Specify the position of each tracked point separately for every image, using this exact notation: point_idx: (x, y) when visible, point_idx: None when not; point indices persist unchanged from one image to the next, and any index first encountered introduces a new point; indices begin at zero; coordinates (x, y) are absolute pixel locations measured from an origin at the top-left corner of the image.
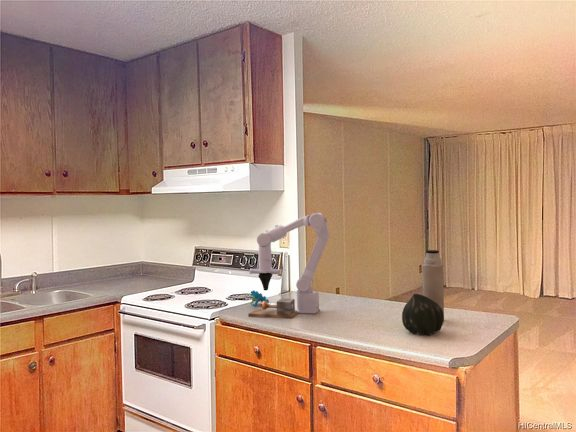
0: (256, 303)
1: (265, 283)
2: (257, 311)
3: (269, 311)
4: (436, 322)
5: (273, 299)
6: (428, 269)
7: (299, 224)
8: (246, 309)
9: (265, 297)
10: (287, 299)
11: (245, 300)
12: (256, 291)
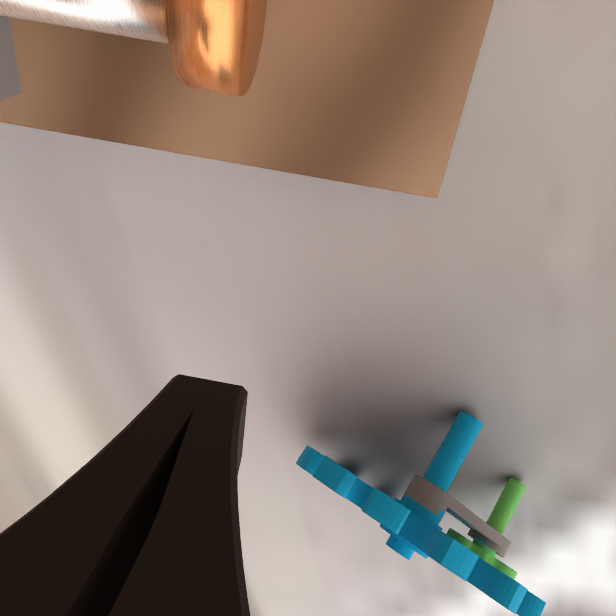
0: (446, 442)
1: (108, 507)
2: (382, 5)
3: None
4: None
5: (313, 596)
6: None
7: None
8: (568, 295)
9: (322, 474)
10: None
11: (569, 602)
12: (455, 567)
